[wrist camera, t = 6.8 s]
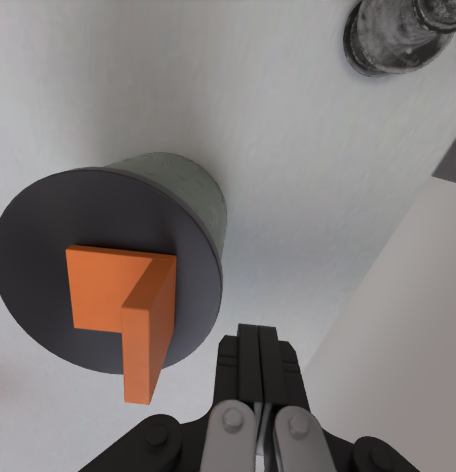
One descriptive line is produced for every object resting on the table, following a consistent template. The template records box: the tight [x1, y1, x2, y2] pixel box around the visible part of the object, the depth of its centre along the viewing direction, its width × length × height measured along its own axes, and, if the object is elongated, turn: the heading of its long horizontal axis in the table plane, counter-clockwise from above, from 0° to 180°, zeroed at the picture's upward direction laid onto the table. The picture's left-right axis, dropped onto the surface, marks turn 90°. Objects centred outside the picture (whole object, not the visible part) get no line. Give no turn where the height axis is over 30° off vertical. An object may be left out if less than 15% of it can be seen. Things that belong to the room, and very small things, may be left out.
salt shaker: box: [343, 0, 456, 77], centre depth 15 cm, size 6×6×12 cm
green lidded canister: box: [0, 153, 227, 375], centre depth 20 cm, size 12×12×12 cm
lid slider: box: [66, 245, 177, 405], centre depth 13 cm, size 5×4×4 cm
